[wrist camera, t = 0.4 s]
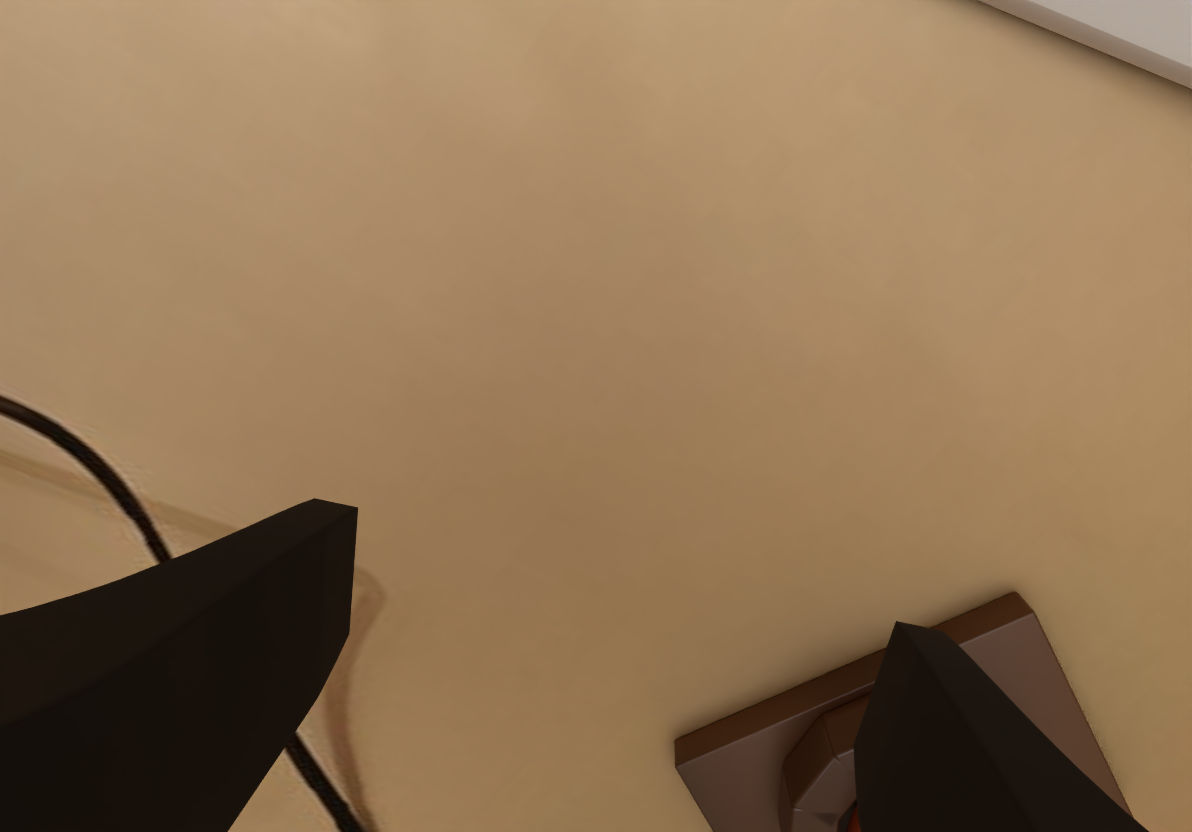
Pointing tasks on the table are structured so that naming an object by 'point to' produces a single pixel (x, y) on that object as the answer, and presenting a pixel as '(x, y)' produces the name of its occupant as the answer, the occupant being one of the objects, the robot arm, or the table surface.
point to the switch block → (833, 716)
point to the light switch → (1120, 29)
